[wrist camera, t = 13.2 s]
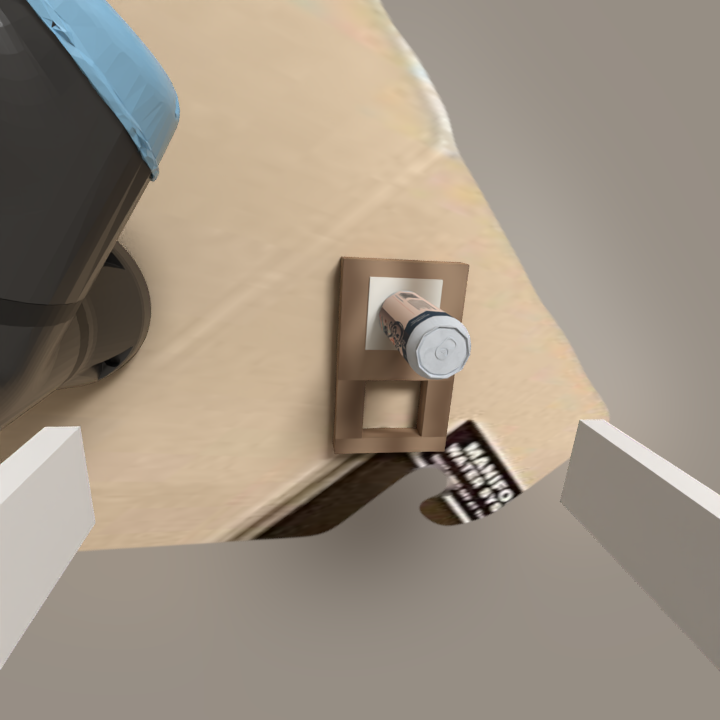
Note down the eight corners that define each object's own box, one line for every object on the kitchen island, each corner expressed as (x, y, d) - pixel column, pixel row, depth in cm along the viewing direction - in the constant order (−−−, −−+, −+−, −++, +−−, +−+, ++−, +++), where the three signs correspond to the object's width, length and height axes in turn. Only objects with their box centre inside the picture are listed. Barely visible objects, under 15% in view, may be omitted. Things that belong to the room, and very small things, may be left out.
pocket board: (333, 443, 47) (335, 454, 45) (341, 256, 41) (344, 258, 38) (437, 441, 49) (444, 452, 47) (460, 262, 43) (470, 265, 40)
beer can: (367, 317, 40) (395, 356, 29) (401, 279, 40) (444, 304, 29) (402, 348, 42) (442, 397, 31) (436, 311, 41) (489, 348, 30)
